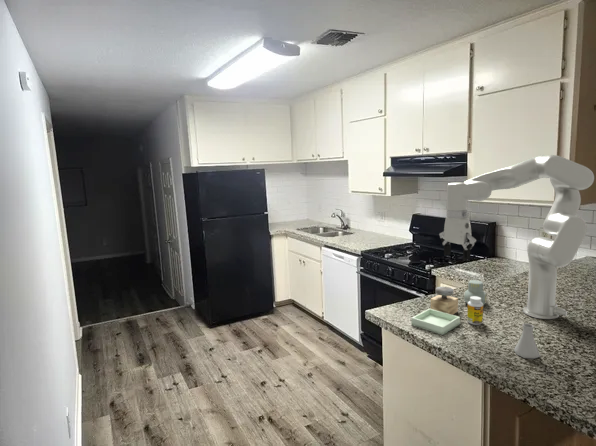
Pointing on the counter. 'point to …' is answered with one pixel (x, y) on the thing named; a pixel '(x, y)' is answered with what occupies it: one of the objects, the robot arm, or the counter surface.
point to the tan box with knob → (444, 301)
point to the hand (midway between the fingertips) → (456, 257)
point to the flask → (527, 343)
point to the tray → (436, 321)
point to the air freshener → (475, 291)
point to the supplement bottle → (475, 311)
